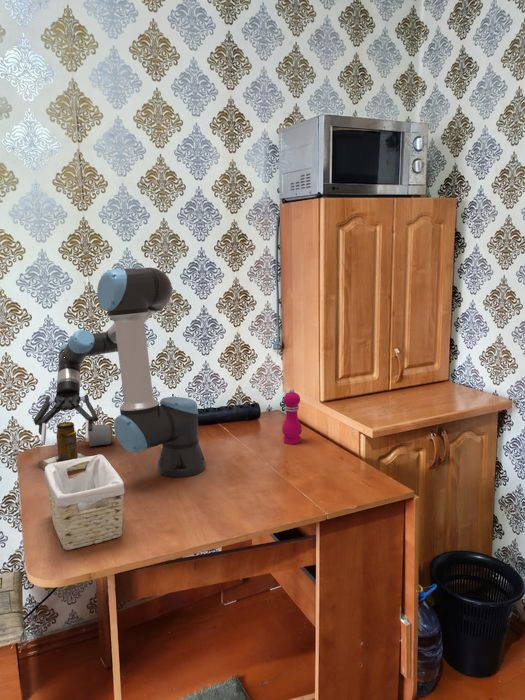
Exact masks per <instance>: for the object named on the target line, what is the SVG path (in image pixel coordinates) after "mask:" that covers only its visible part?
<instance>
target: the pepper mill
mask: <svg viewBox="0 0 525 700" xmlns="http://www.w3.org/2000/svg"><path fill="white" fill-rule="evenodd" d="M300 402H301V397H300V395H299V394H298V393H297V392H295V388H293V387H292V388H289V391H288V392H286V393H285V395H284V396H283V403H284V410H285V412H286V416H285V420H284V421H283V425H282V428H281V432H282V434H283V435H284V436H283V438H282V439H283V443H284V444H287V445H297V444H301V441H302V440H301V439H302V437H301V434H302V432H303V427H302V424H301V423H300V420H299V418H298V411H299V410H300V408H299V407H300V406H299V404H301V403H300Z"/></svg>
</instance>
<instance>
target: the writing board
mask: <svg viewBox="0 0 525 700" xmlns="http://www.w3.org/2000/svg"><path fill="white" fill-rule="evenodd" d="M77 452H78V451H77ZM78 455H79V457H80V458H83V457H89V456H88V455H85V454H83V453H82V452H78ZM55 457H56V456H53V457H50V458H45V459H42V460H40V461H38V468H40V467H41V469H42V470H44V471H45V467H46V466H47V465H48V464H51V463H57V461H56V459H55ZM82 471H83V472H84V471H86V468H84V469H77V470H72V471H67V474H68V477H69V476H71V475H74V474H77V473H80V472H82Z"/></svg>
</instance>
